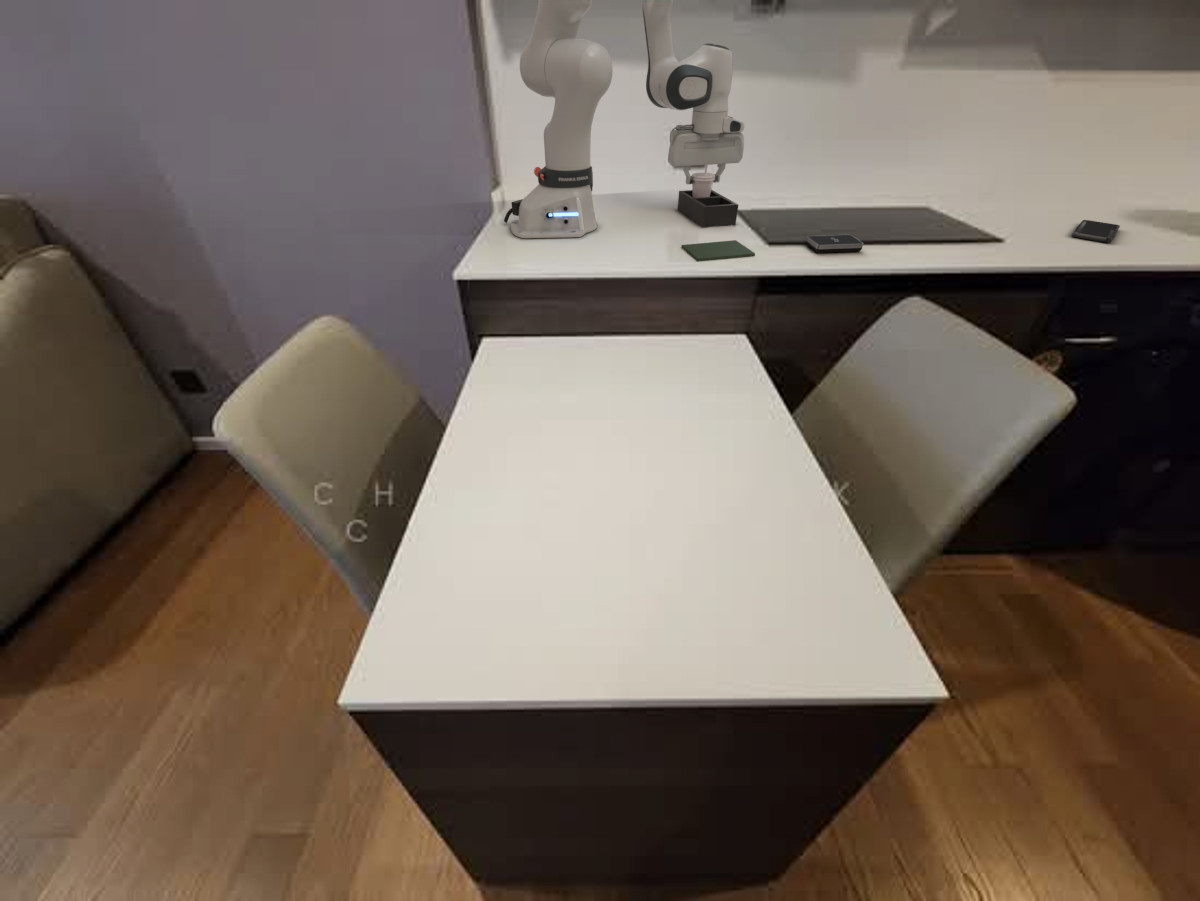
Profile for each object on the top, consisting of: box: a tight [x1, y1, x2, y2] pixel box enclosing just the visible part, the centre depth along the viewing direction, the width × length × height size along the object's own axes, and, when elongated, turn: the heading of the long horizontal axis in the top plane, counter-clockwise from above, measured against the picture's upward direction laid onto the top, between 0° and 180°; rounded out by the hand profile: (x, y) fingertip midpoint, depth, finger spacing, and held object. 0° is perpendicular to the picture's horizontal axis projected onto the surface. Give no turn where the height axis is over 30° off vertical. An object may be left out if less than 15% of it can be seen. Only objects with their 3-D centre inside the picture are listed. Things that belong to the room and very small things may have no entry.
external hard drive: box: [805, 234, 864, 254], centre depth 123 cm, size 7×11×2 cm, turn 95°
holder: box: [677, 189, 739, 228], centre depth 143 cm, size 18×10×5 cm, turn 14°
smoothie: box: [691, 165, 715, 198], centre depth 144 cm, size 6×6×14 cm
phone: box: [1071, 219, 1121, 244], centre depth 131 cm, size 8×1×15 cm
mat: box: [680, 239, 756, 262], centre depth 122 cm, size 14×10×1 cm
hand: (702, 183), depth 144 cm, fingers closed on smoothie, 6 cm apart
